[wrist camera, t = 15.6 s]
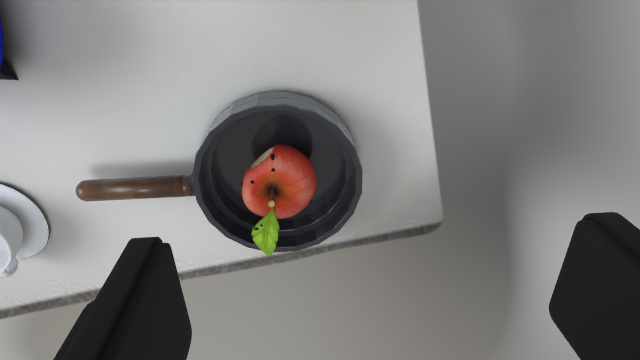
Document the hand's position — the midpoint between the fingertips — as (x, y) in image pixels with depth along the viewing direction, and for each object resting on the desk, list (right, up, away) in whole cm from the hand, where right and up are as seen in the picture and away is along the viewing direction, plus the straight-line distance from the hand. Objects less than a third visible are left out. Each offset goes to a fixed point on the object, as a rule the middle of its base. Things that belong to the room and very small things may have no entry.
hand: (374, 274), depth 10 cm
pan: (-5, +4, +32) cm, 33 cm away
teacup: (-35, -2, +34) cm, 49 cm away
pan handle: (-18, +2, +29) cm, 35 cm away
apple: (-5, +4, +32) cm, 32 cm away
